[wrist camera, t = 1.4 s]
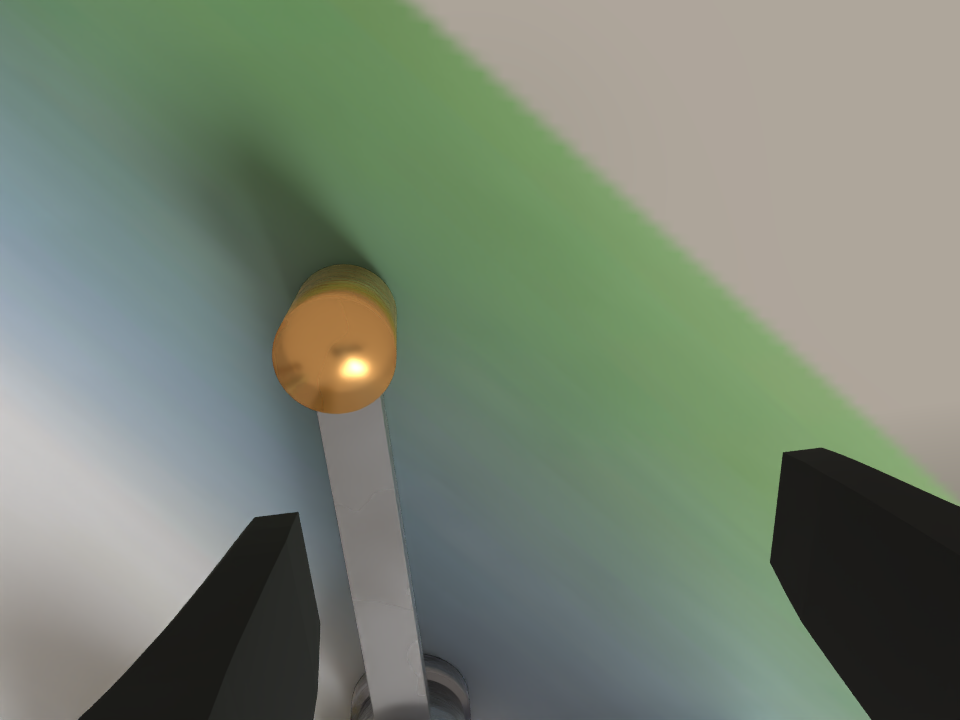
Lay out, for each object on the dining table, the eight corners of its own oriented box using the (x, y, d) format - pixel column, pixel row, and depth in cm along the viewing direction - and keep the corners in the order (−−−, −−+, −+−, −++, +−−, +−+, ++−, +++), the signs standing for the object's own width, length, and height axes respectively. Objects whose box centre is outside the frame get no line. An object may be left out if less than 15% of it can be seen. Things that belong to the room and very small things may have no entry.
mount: (477, 657, 25) (479, 674, 24) (458, 748, 26) (460, 767, 25) (358, 649, 24) (357, 667, 24) (346, 743, 26) (344, 763, 25)
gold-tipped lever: (468, 739, 26) (481, 854, 22) (365, 756, 25) (359, 875, 22) (404, 256, 20) (405, 294, 16) (270, 272, 20) (238, 314, 16)
